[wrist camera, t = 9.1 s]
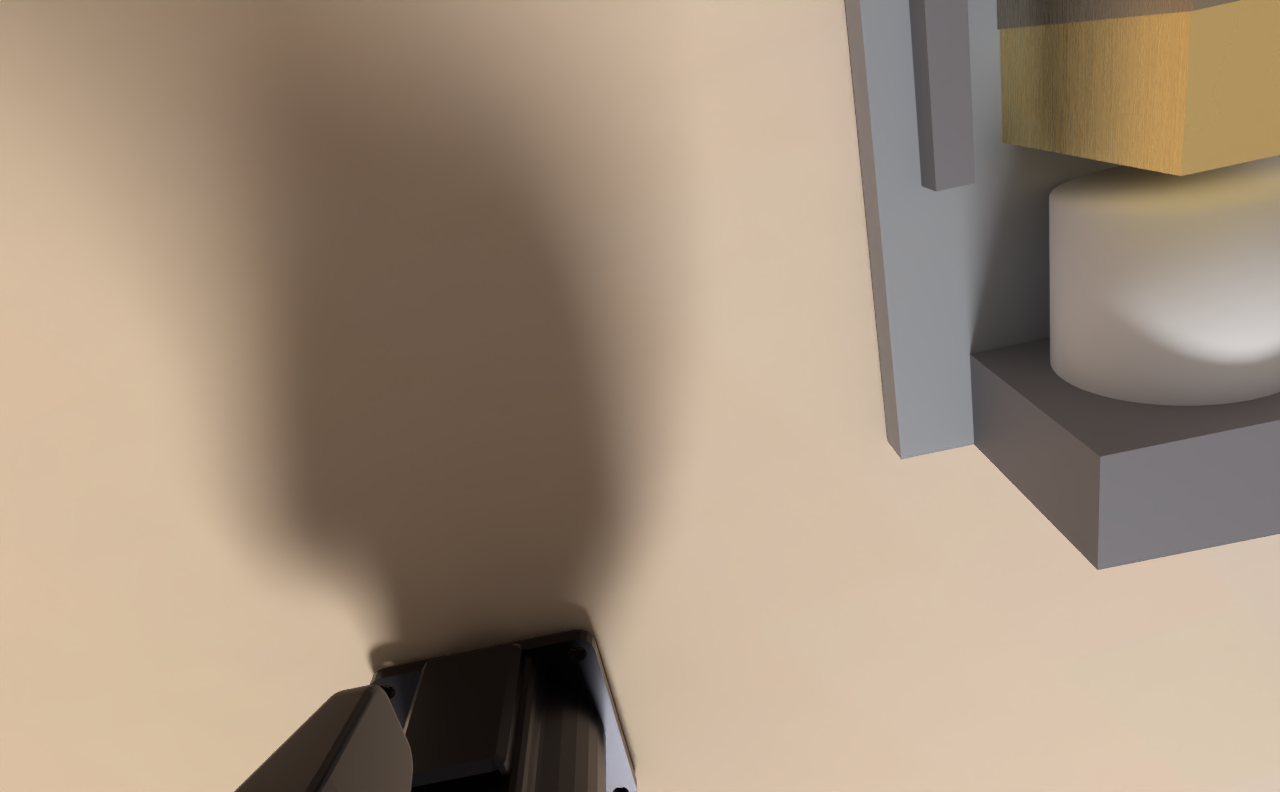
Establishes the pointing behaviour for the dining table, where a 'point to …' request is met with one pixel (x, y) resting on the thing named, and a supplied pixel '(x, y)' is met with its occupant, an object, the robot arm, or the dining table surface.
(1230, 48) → the banded gold block
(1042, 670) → the dining table surface
